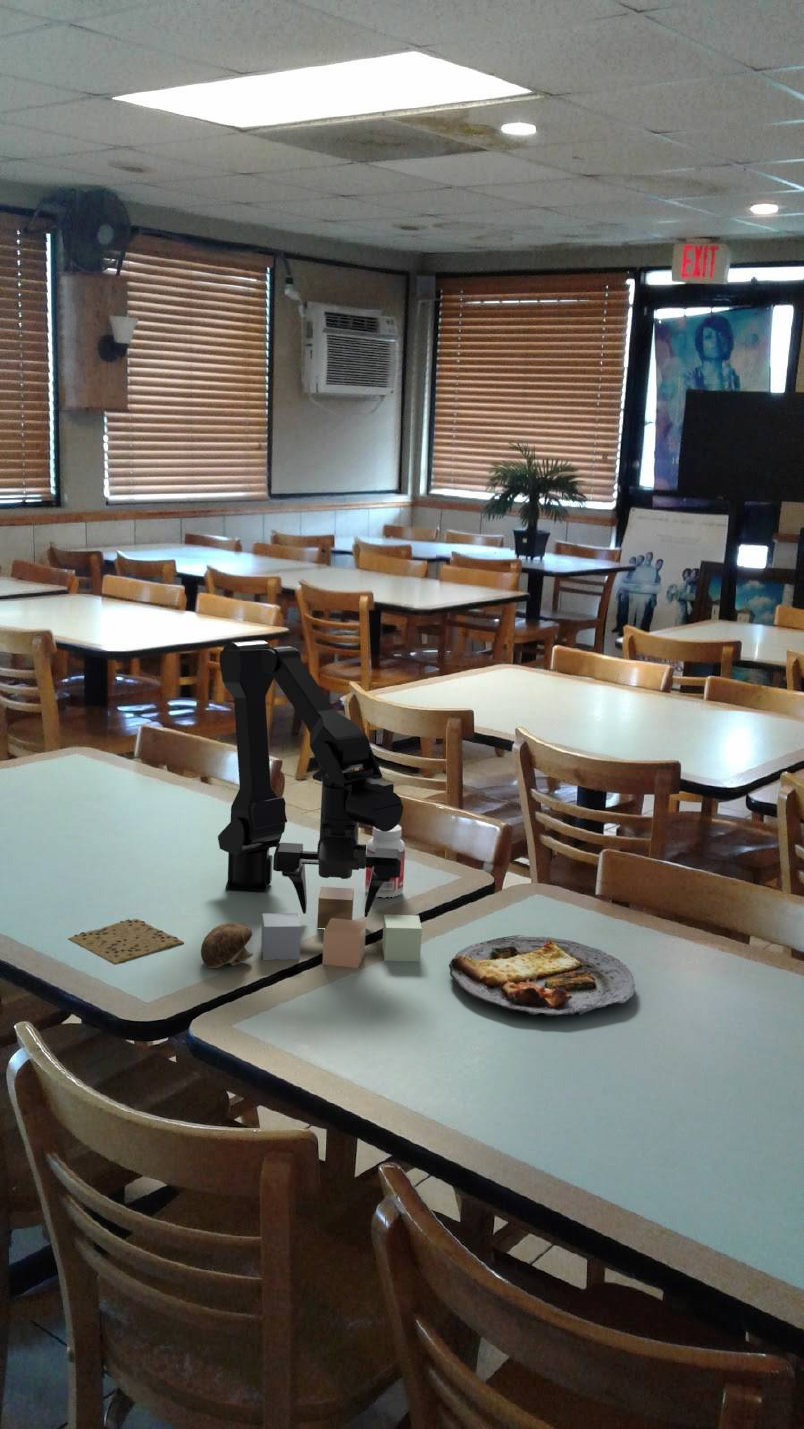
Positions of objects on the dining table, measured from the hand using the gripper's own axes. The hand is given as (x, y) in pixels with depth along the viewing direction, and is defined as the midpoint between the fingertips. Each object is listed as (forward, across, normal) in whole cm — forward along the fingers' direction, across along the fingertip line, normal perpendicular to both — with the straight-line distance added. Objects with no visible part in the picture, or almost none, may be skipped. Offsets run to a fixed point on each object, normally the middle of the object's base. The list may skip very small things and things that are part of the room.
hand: (335, 914), depth 189 cm
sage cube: (+2, +10, -10) cm, 14 cm away
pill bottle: (+2, +7, +15) cm, 17 cm away
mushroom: (+2, -14, -17) cm, 22 cm away
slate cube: (+2, -7, -12) cm, 14 cm away
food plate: (+2, +29, -18) cm, 34 cm away
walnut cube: (+2, 0, 0) cm, 2 cm away
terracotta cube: (+2, +2, -13) cm, 13 cm away
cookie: (+2, -29, -11) cm, 31 cm away
